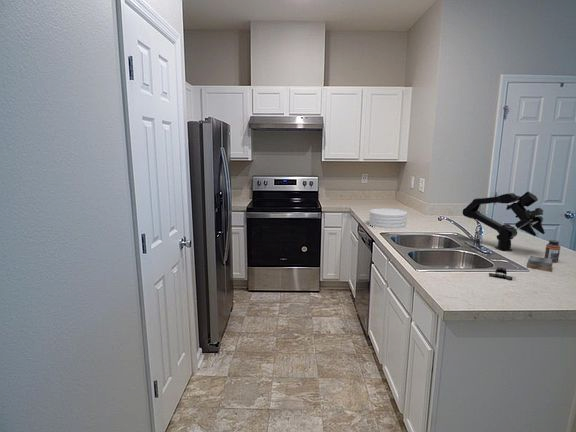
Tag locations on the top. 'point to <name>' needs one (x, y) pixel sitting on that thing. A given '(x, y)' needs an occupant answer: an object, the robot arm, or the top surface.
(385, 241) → the top surface
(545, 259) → the plate
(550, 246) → the supplement bottle
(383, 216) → the plate stack
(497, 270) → the black bar with hump
